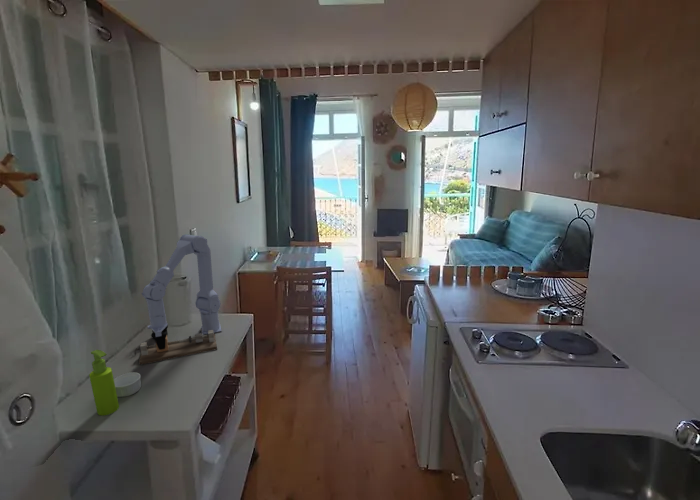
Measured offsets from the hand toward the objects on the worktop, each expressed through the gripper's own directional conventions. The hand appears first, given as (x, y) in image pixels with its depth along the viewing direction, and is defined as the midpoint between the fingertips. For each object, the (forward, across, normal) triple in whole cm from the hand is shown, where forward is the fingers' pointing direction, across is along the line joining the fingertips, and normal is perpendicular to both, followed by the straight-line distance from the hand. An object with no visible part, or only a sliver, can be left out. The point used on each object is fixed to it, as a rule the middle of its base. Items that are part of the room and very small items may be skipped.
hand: (162, 346), depth 161 cm
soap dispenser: (+3, +34, -14) cm, 37 cm away
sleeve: (+1, 0, 0) cm, 1 cm away
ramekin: (+3, +24, -10) cm, 26 cm away
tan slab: (+3, 0, +6) cm, 7 cm away
